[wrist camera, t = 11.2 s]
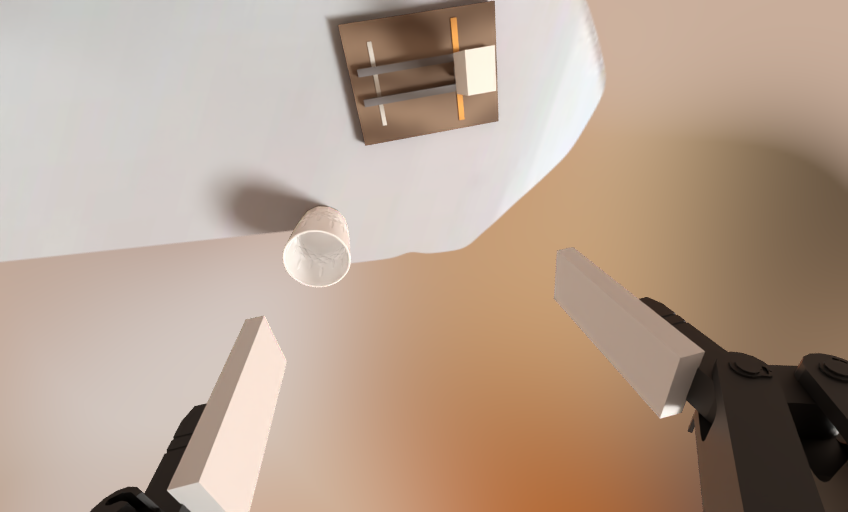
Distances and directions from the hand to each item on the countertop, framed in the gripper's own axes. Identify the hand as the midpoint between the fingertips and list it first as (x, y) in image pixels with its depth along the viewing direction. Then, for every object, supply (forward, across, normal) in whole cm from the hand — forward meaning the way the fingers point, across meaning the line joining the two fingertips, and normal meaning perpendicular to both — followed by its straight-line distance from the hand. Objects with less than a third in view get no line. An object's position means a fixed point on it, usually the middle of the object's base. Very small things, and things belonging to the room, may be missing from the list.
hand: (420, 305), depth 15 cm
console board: (+35, +8, +8) cm, 36 cm away
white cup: (+35, -10, -9) cm, 37 cm away
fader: (+33, +12, +8) cm, 36 cm away
